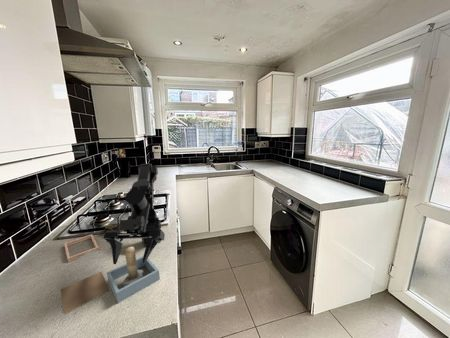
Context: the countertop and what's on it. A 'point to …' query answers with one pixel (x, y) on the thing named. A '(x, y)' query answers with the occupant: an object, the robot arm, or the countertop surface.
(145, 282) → the box
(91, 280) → the far plate
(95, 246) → the pink rectangular frame
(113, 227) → the tape measure
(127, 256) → the rubber stamp
